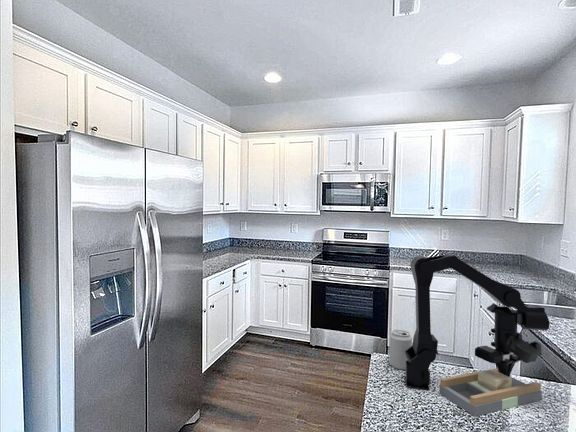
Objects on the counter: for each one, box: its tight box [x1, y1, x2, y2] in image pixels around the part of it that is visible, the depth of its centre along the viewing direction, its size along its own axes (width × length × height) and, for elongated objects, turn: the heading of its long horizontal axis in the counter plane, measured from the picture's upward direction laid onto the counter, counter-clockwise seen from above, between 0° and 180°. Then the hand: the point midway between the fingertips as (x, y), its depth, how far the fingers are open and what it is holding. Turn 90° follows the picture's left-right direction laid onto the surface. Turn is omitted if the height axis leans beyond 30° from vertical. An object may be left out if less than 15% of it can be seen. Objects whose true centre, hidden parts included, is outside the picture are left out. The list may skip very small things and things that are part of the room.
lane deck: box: [438, 367, 543, 417], centre depth 96 cm, size 26×12×4 cm, turn 110°
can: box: [388, 329, 413, 371], centre depth 115 cm, size 8×8×12 cm
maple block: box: [477, 368, 513, 391], centre depth 97 cm, size 6×6×4 cm
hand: (505, 379), depth 98 cm, fingers closed
